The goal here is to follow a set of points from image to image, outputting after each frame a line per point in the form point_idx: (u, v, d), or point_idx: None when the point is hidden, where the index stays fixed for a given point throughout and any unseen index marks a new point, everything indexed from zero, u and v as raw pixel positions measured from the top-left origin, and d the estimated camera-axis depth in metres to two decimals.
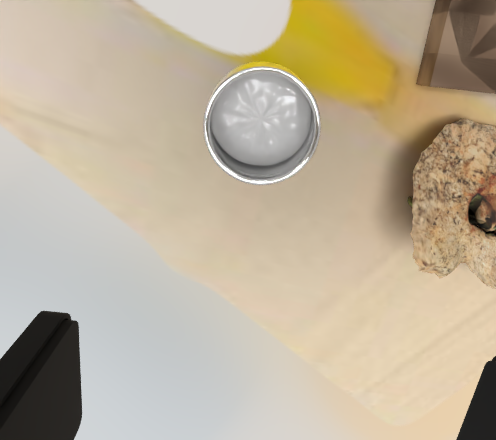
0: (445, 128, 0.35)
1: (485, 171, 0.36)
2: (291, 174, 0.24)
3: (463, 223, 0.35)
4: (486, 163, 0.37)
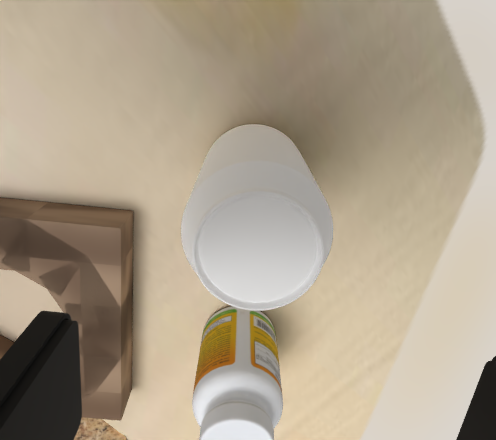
0: None
1: None
2: None
3: None
4: None
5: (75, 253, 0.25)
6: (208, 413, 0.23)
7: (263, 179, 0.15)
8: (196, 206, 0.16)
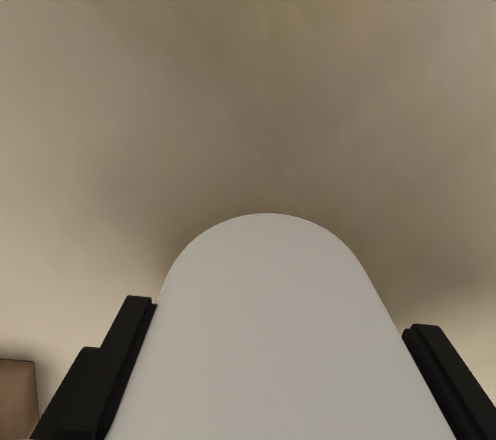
0: None
1: None
2: None
3: None
4: None
5: None
6: None
7: None
8: None
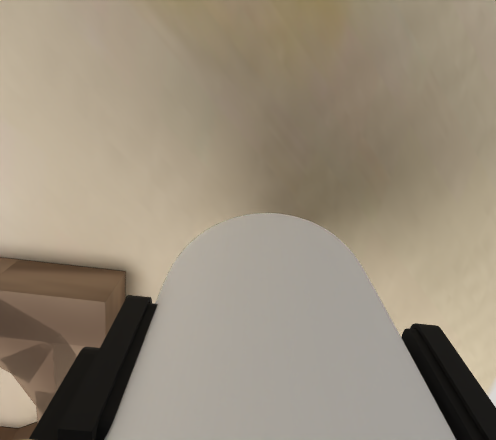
0: None
1: None
2: None
3: None
4: None
5: (47, 332, 0.20)
6: None
7: None
8: None
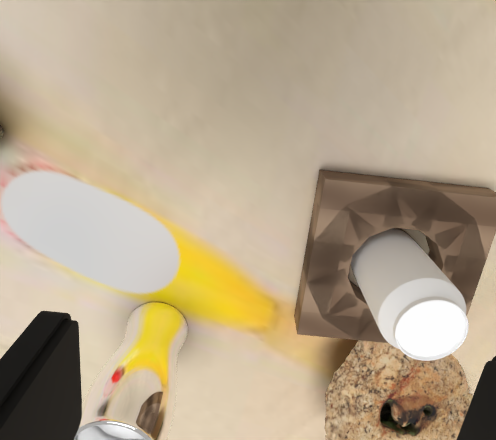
0: (358, 344, 0.40)
1: (397, 376, 0.41)
2: None
3: (374, 430, 0.39)
4: (397, 368, 0.41)
5: (467, 217, 0.35)
6: None
7: (435, 290, 0.28)
8: (394, 303, 0.29)
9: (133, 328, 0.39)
